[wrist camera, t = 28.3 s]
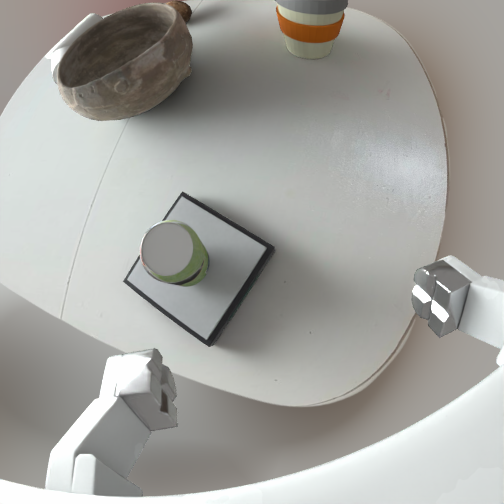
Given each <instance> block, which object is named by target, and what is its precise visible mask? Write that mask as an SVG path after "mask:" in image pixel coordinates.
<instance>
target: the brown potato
mask: <svg viewBox="0 0 504 504" xmlns="http://www.w3.org/2000/svg"><path fill="white" fill-rule="evenodd" d="M166 4H168V5H170V6H172V7H173V8H175V9H176V10H177V11H178V12H179V13H180V15H181V16H182V18H183V20H184V21H185V23H186V22H187V21H188V20H189V19H190V17H191V14H192V10H191V8H190V6H189V5H187V4H186V3H184V2H182V1H170V2H168V3H166Z"/></svg>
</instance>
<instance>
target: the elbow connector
mask: <svg viewBox="0 0 504 504" xmlns="http://www.w3.org/2000/svg"><path fill="white" fill-rule="evenodd" d="M102 19H103V18H102V17H100V16H99V15H97V14H94V13H91V14H89V15H88V16H87V17H86V18H85V19H84V20H82V22H80V23H79V24H78V25H77V26H76V27H75V28H73V29H72V30H71V31H70V32H69V33H68V34H67V35H66V36H65V37H64V38H63V39H62V40H61V41H60V42H59V43H58V44H57V45H56V46H55V47H54V48H53V49H52V50H51V51H50V52H49V53H48V54H47V55H46V58H48V59H52V78H53V80H54V82H55V83H56V84H57V69H58V66H59V63H60V60H61V58H62V57H63V55H64V53H65V52H66V51H67V49H68V48H69V47H70V46H71V44H72V43H73V42H74V41H75V40H76V39H77V38H78V37H79V36H80V35H81V34H83V33H84V32H85V31H86V30H87V29H89V28H90V27H91V26H93V25H94V24H96V23H97V22H99V21H100V20H102Z"/></svg>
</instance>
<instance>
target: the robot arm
mask: <svg viewBox="0 0 504 504" xmlns="http://www.w3.org/2000/svg"><path fill="white" fill-rule="evenodd" d="M414 282H415V283H416V284H417V285H416V286H415V288H414V290H413V291H412V304H413V308H414V310H415V312H416V313H417V314H418V315H419V316H420V318H423V319H426V320H428V326H429V327H430V328H431V329H432V330H433V331H434V332H435V333H436V335H437V336H438V337H439V338H440V337H442V336H444V335H446V334H448V333H450V332H452V331H454V330H456V329H458V330H460V331H462V332H464V333H467V334H469V335H471V336H473V337H475V338H477V339H480V340H482V341H484V342H486V343H489V344H491V345H493V346H495V347H498V348H500V349H501V350H500V353H499V355H498V357H497V360H496V362H497V364H498V365H499V366H500V367H499V368H498V369H497V370H495V371H494V372H493V373H491V374H490V375H489V376H488V377H486V378H485V379H484V380H482V381H481V382H480V383H478V384H477V385H475V386H474V387H473V388H471V389H470V390H468V391H467V392H465V393H464V394H463V395H461V396H460V397H458V398H457V399H455V400H454V401H452V402H451V403H449V404H447V405H446V406H444V407H443V408H441V409H439V410H438V411H436V412H434V413H433V414H431V415H429V416H428V417H426V418H424V419H422V420H421V421H419V422H417V423H415V424H413V425H412V426H410V427H408V428H406V429H404V430H402V431H400V432H398V433H396V434H394V435H392V436H390V437H388V438H386V439H384V440H382V441H379V442H377V443H375V444H373V445H371V446H368V447H366V448H364V449H361V450H359V451H357V452H354V453H352V454H349V455H347V456H344V457H341V458H339V459H336V460H333V461H331V462H328V463H325V464H322V465H319V466H316V467H313V468H310V469H307V470H304V471H301V472H298V473H294V474H290V475H287V476H283V477H279V478H276V479H272V480H268V481H263V482H259V483H255V484H250V485H245V486H240V487H235V488H229V489H223V490H216V491H209V492H202V493H193V494H184V495H171V496H152V497H143V492H142V489H140V487H138V486H137V485H135V484H134V483H132V482H131V481H129V480H127V477H128V475H129V473H130V471H131V469H132V468H133V466H134V464H135V462H136V460H137V459H138V457H139V455H140V453H141V451H142V449H143V448H144V446H145V444H146V442H147V440H148V438H149V436H150V435H151V431H155V430H161V429H167V428H173V427H177V426H178V423H177V408H176V406H175V405H174V403H173V401H174V399H175V398H176V396H177V395H176V386H175V381H174V378H173V375H172V373H171V371H170V369H169V367H167V366H165V365H163V364H162V358H163V357H162V355H161V354H160V352H159V351H158V349H155V348H154V349H148V350H143V351H137V352H132V353H126V354H122V355H116V356H110V357H109V358H108V359H107V363H106V367H105V372H104V377H103V381H102V386H101V392H100V396H99V399H95V400H94V401H93V402H92V403H91V405H90V406H89V407H88V408H87V409H86V411H85V412H84V413H83V414H82V415H81V416H80V417H79V419H78V420H77V421H76V422H75V423H74V425H73V426H72V427H71V428H70V429H69V430H68V432H67V433H66V434H65V435H64V437H63V438H62V439H61V440H60V441H59V442H58V444H57V445H56V446H55V447H54V449H53V450H52V451H51V454H50V459H49V466H48V471H47V477H46V484H45V489H41V488H36V487H31V486H27V485H22V484H18V483H13V482H10V481H6V480H2V479H0V504H504V280H501V279H496V278H492V277H488V276H484V277H482V276H480V275H479V274H478V273H476V272H475V271H474V270H472V269H471V268H470V267H468V266H467V265H466V264H464V263H463V262H461V261H460V260H459V259H457V258H456V257H454V256H451V255H449V256H447V257H445V258H443V259H440V260H439V261H436V262H434V263H431V264H429V265H426V266H424V267H421V268H419V269H417V270H416V272H415V274H414Z"/></svg>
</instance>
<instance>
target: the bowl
mask: <svg viewBox="0 0 504 504" xmlns="http://www.w3.org/2000/svg"><path fill="white" fill-rule="evenodd" d="M192 48H193V43H192V37H191V35H190V33H189V30H188V28H187V25H186V23H185V21H184V20H183V18H182V16H181V15H180V13H179V12H178V11H177V10H176V9H175V8H173V7H172V6H170V5H168V4H164V3H144V4H139V5H135V6H132V7H129V8H126V9H123V10H121V11H118V12H116V13H114V14H112V15H110V16H107V17H105V18H104V19H102V20H100V21H99V22H97V23H96V24H94V25H93V26H91V27H90V28H89V29H87V30H86V31H85V32H84V33H83V34H81V35H80V36H79V37H78V38H77V39H76V40H75V41H74V42H73V43H72V44H71V46H70V47H69V48H68V49H67V51H66V52H65V53H64V55H63V57H62V58H61V60H60V63H59V66H58V69H57V84H58V89H59V91H60V94H61V96H62V98H63V100H64V101H65V103H66V104H67V105H68V106H69V107H70V108H71V109H72V110H74V111H75V112H76V113H78V114H80V115H82V116H84V117H86V118H89V119H92V120H98V121H107V120H121V119H125V118H129V117H133V116H136V115H139V114H141V113H143V112H146V111H148V110H150V109H152V108H153V107H155V106H157V105H158V104H160V103H161V102H162V101H163V100H165V99H166V98H167V97H168V96H169V95H171V94H172V93H173V92H174V91H175V90H176V88H177V87H178V86H179V85H180V83H181V81H182V80H183V79H184V78H186V77H189V75H190V73H191V71H192V70H191V67H190V66H189V65H190V61H191V53H192Z"/></svg>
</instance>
